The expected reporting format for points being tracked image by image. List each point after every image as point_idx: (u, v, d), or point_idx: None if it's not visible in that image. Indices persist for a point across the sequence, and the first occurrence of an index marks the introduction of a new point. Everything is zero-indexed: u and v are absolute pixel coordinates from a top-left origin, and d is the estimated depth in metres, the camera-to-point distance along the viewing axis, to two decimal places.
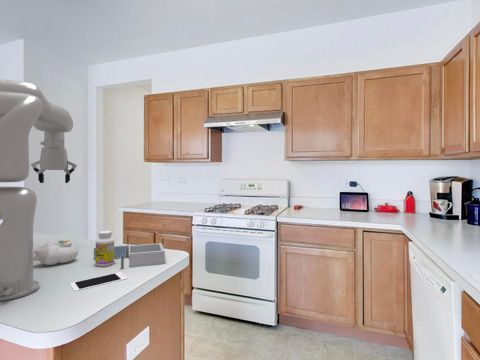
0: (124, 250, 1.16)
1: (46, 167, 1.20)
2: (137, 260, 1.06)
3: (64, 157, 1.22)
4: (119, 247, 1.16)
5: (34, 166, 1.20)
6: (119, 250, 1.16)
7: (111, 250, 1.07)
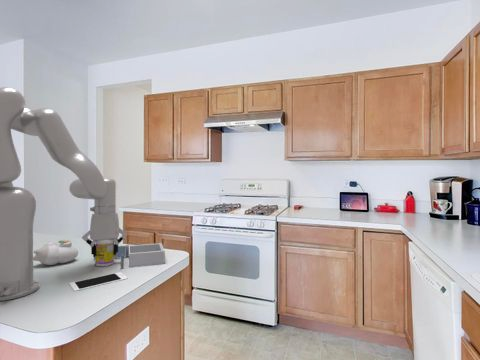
0: (124, 250, 1.16)
1: (97, 237, 1.04)
2: (137, 260, 1.06)
3: (116, 224, 1.07)
4: (119, 247, 1.16)
5: (86, 238, 1.05)
6: (119, 250, 1.16)
7: (111, 250, 1.07)
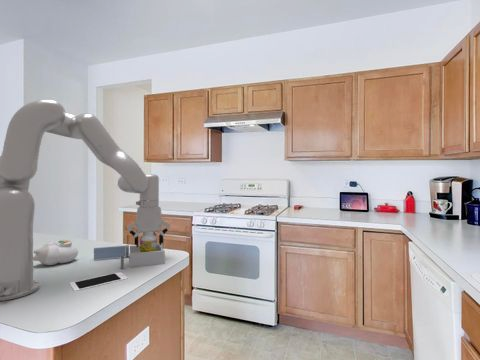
0: (124, 250, 1.16)
1: (143, 230, 1.10)
2: (137, 260, 1.06)
3: (160, 217, 1.13)
4: (119, 247, 1.16)
5: (130, 229, 1.10)
6: (119, 250, 1.16)
7: (155, 246, 1.13)
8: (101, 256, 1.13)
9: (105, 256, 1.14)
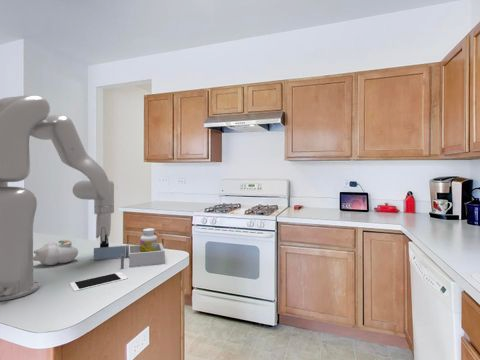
0: (124, 250, 1.16)
1: None
2: (137, 260, 1.06)
3: (96, 225, 1.11)
4: (119, 247, 1.15)
5: None
6: (119, 250, 1.15)
7: (155, 246, 1.13)
8: (101, 256, 1.13)
9: (105, 256, 1.13)
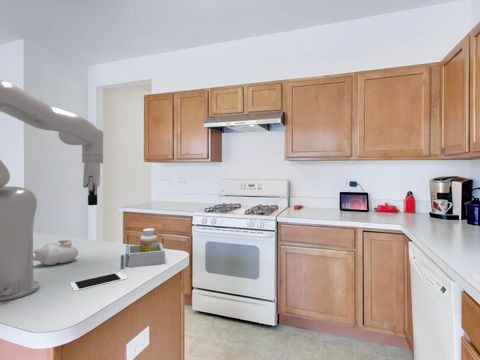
0: None
1: None
2: (137, 260, 1.06)
3: None
4: None
5: None
6: (128, 251, 1.14)
7: (155, 246, 1.13)
8: None
9: None
